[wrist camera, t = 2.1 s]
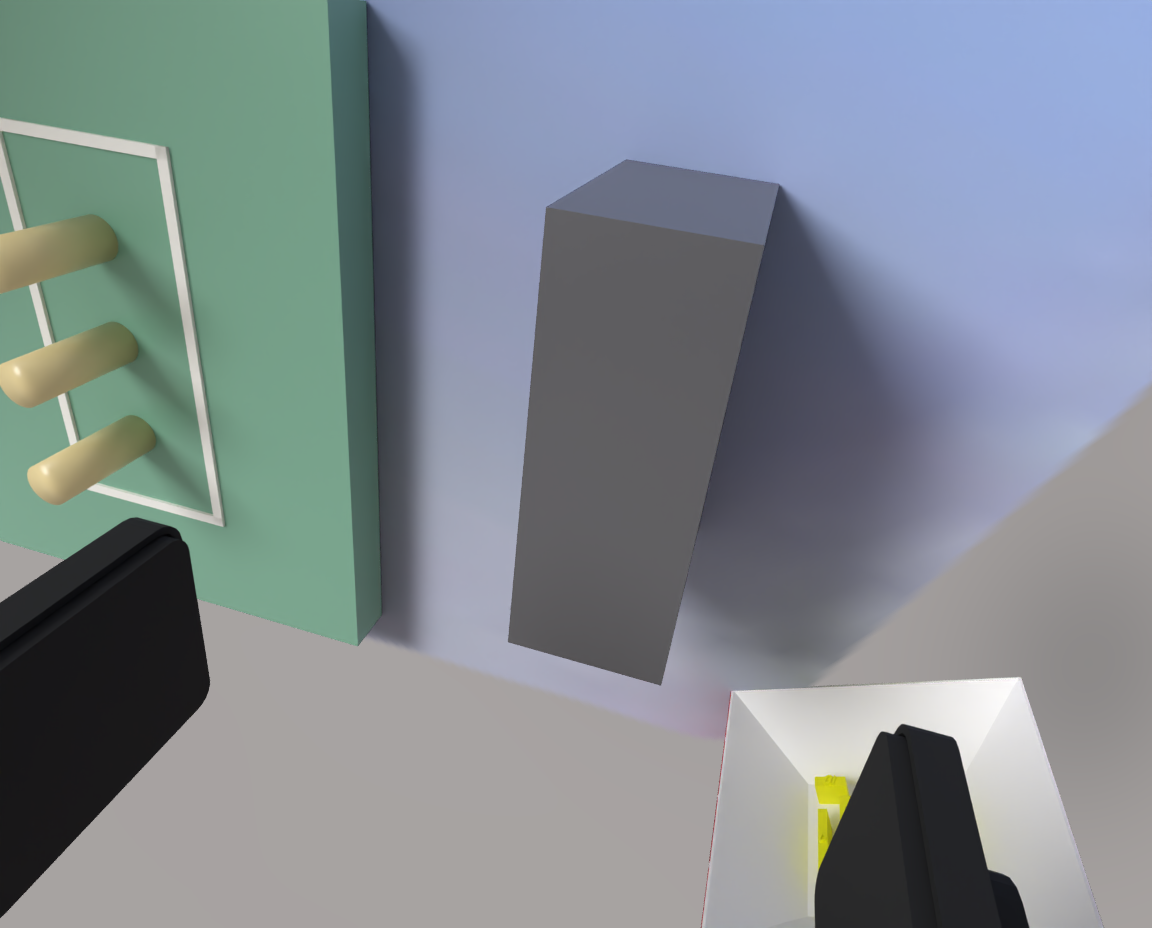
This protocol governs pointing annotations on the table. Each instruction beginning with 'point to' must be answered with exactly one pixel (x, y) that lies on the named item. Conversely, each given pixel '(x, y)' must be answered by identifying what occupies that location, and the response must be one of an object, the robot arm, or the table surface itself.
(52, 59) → the header board
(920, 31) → the table surface
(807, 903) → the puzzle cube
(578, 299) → the block
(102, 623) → the robot arm
